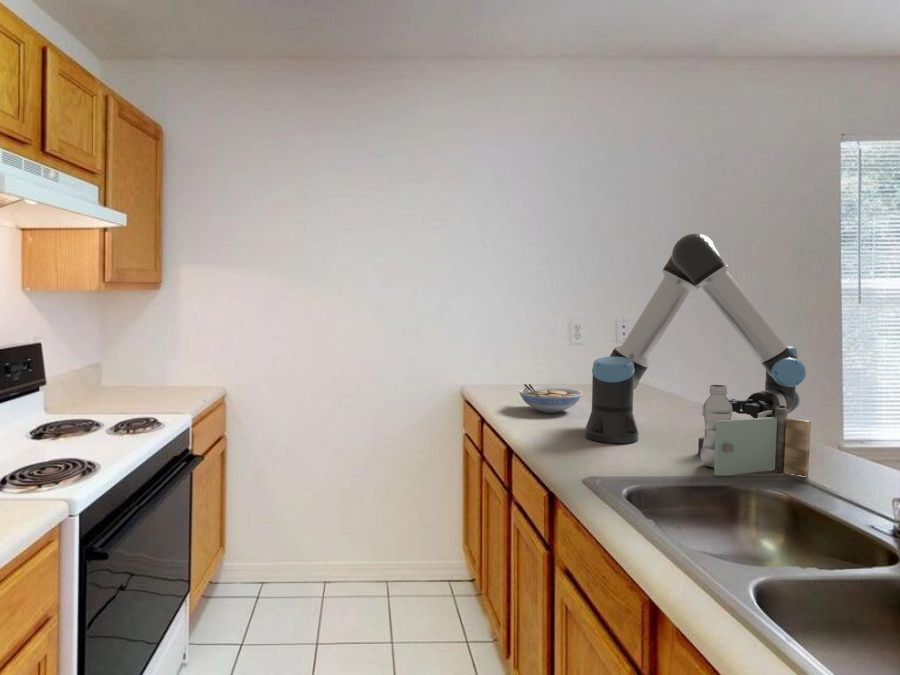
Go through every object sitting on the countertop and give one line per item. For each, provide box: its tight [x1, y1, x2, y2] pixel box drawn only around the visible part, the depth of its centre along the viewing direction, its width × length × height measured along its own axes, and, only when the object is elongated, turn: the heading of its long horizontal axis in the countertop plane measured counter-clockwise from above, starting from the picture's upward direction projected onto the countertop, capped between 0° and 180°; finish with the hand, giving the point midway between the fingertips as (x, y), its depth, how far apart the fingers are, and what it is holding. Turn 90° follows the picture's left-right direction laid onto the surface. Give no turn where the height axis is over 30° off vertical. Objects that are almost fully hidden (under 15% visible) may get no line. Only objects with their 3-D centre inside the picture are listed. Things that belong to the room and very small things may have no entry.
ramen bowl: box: [518, 383, 583, 414], centre depth 208 cm, size 25×23×8 cm
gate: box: [713, 417, 777, 476], centre depth 132 cm, size 16×3×12 cm, turn 106°
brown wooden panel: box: [697, 408, 812, 477], centre depth 142 cm, size 26×5×15 cm, turn 41°
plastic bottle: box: [700, 384, 733, 469], centre depth 139 cm, size 6×7×20 cm
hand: (730, 414), depth 142 cm, fingers open, 13 cm apart
